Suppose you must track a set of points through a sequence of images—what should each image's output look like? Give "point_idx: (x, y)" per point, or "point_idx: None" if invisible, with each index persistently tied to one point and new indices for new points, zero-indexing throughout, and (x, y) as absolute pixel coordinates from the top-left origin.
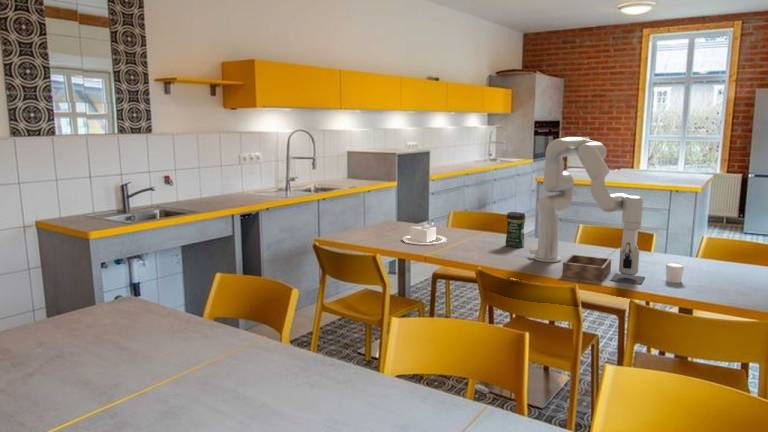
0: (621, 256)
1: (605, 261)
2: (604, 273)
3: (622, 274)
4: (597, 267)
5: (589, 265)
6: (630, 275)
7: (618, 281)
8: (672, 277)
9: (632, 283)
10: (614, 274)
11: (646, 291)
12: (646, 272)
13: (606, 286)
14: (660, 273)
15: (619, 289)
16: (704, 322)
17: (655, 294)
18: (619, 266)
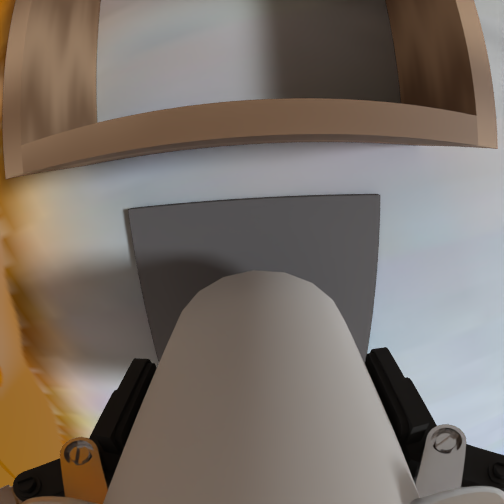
0: (141, 428)
1: (453, 86)
2: (91, 161)
3: (361, 257)
4: (7, 110)
5: (23, 23)
6: (358, 315)
7: (139, 270)
8: None
9: (159, 356)
10: (327, 196)
11: (81, 411)
12: (473, 356)
13: (9, 225)
14: (463, 405)
15: (13, 302)
16: (3, 467)
17: (74, 433)
18: (209, 305)
